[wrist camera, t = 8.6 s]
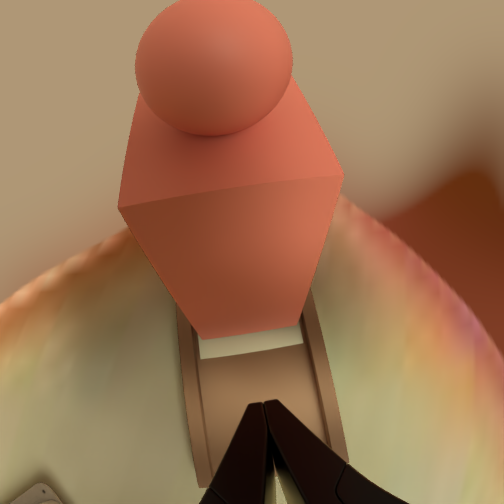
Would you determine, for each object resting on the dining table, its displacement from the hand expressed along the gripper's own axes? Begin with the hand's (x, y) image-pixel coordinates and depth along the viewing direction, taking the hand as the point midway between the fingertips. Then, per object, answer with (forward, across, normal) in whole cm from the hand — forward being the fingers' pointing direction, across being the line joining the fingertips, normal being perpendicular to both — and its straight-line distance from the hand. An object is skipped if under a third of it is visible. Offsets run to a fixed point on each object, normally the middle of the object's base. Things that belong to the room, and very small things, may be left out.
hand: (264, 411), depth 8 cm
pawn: (+9, 0, 0) cm, 10 cm away
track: (+8, 0, +3) cm, 9 cm away
